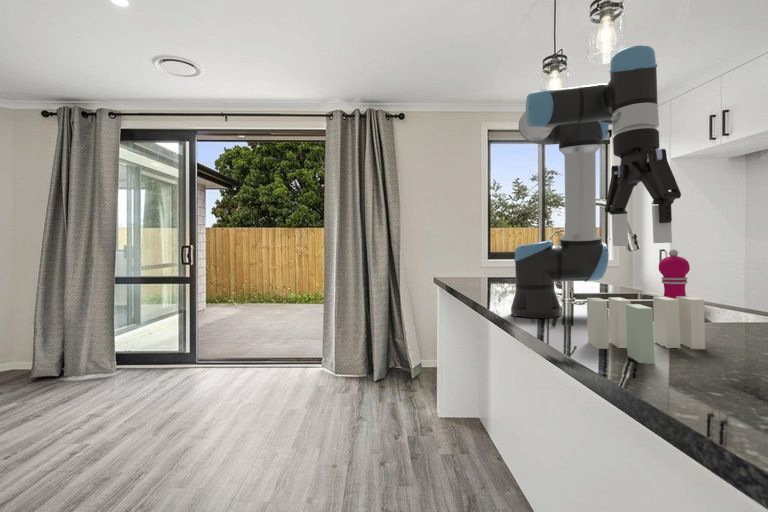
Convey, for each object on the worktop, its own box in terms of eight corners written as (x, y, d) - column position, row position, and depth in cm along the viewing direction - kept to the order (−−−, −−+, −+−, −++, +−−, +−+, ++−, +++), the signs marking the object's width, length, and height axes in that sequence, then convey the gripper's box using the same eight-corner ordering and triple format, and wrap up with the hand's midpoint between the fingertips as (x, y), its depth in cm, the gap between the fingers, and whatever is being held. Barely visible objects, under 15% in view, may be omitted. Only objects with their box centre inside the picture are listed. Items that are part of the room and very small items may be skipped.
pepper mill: (701, 338, 95) (698, 248, 95) (665, 338, 97) (662, 250, 97) (685, 332, 102) (683, 248, 102) (652, 332, 104) (649, 249, 104)
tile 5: (677, 342, 92) (676, 296, 92) (689, 342, 92) (688, 296, 92) (692, 349, 86) (690, 299, 86) (705, 349, 86) (703, 299, 86)
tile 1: (588, 342, 96) (586, 297, 96) (599, 342, 95) (598, 297, 95) (596, 348, 90) (594, 301, 90) (608, 348, 89) (606, 300, 89)
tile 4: (654, 342, 93) (653, 296, 93) (666, 342, 93) (665, 296, 93) (667, 349, 87) (665, 300, 87) (680, 349, 87) (678, 299, 87)
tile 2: (609, 342, 95) (608, 297, 95) (621, 342, 94) (620, 297, 94) (619, 348, 89) (617, 300, 89) (632, 348, 88) (630, 300, 88)
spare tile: (627, 355, 83) (625, 304, 83) (641, 355, 83) (639, 304, 83) (639, 363, 77) (638, 308, 77) (654, 364, 77) (652, 308, 77)
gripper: (585, 150, 94) (589, 247, 93) (655, 109, 69) (661, 241, 68) (620, 149, 93) (624, 246, 93) (703, 107, 69) (709, 240, 68)
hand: (639, 244), depth 81 cm, fingers open, 13 cm apart
